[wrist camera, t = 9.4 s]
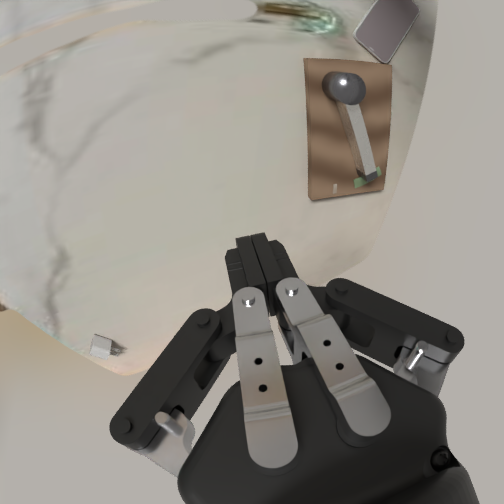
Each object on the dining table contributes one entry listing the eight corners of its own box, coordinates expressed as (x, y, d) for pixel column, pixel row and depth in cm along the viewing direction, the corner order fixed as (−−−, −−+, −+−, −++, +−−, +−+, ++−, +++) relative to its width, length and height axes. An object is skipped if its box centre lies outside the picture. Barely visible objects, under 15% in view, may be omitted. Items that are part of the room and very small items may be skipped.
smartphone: (421, 10, 25) (386, 65, 32) (417, 10, 26) (383, 65, 33) (391, -21, 22) (352, 35, 29) (388, -20, 23) (349, 35, 30)
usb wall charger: (94, 332, 54) (92, 347, 51) (122, 342, 58) (120, 356, 55) (91, 341, 56) (89, 355, 53) (117, 350, 59) (116, 364, 56)
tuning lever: (317, 76, 32) (331, 78, 28) (343, 67, 31) (360, 69, 28) (351, 177, 42) (365, 189, 39) (373, 166, 42) (388, 177, 38)
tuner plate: (303, 58, 31) (308, 58, 30) (386, 64, 32) (392, 65, 31) (308, 196, 45) (312, 200, 43) (379, 185, 46) (384, 190, 45)
